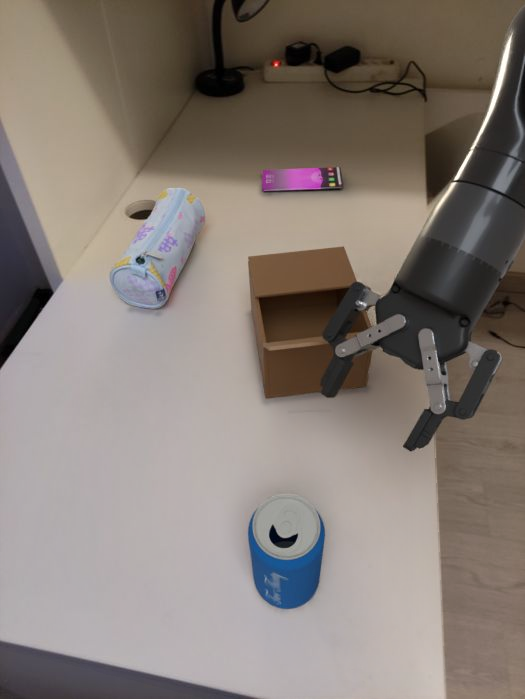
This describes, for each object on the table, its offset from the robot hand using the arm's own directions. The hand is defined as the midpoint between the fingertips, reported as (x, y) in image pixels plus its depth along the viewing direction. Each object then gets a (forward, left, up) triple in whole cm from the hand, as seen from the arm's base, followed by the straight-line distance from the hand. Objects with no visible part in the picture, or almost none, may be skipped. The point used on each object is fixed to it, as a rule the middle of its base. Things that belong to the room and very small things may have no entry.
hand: (366, 421), depth 47 cm
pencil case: (+43, +20, -15) cm, 50 cm away
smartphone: (+65, -6, -15) cm, 67 cm away
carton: (+23, +1, -15) cm, 28 cm away
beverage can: (-7, +8, -15) cm, 19 cm away
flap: (+12, +1, -2) cm, 13 cm away
